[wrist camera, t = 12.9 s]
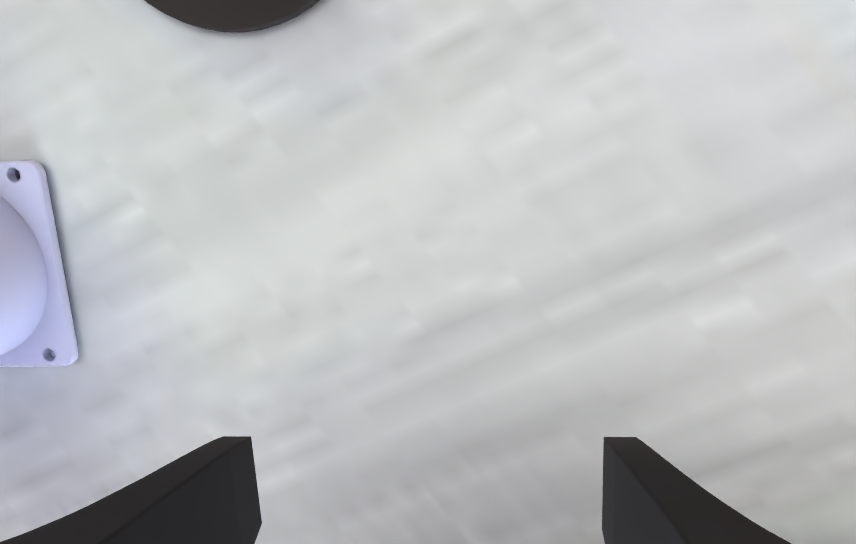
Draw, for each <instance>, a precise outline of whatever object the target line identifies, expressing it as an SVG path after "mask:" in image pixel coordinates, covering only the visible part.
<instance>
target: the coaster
mask: <svg viewBox="0 0 856 544" xmlns="http://www.w3.org/2000/svg"><path fill="white" fill-rule="evenodd" d="M145 1H146V2H147V3H149V4H150V5H152V6H154V7H155V8H157V9H158V10H160V11H162V12H163V13H165V14H167V15H169V16H171V17H173V18H176V19H178V20H180V21H182V22H185V23H187V24H191V25H194V26H197V27H201V28H204V29H208V30H215V31H221V32H248V31H255V30H262V29H265V28H269V27H272V26H276V25H279V24H281V23H283V22H286V21H288V20H290V19H292V18H295V17H296V16H298V15H300V14H301V13H303V12H304V11H306V10H308V9H309V8H311V7H312V6H313V5H315V4H316V3H317V2H318V1H319V0H145Z"/></svg>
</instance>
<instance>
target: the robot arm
mask: <svg viewBox="0 0 856 544" xmlns="http://www.w3.org/2000/svg"><path fill="white" fill-rule="evenodd" d="M16 169H17V170H18V171H19V173H20V179H19V180H18V179H17V178H16V176H15V170H16ZM50 349H51V350H52V351H53V352H54V354H55V357H53V356H52V355H51V354H50V352H49V350H50ZM77 358H78V347H77V341H76V336H75V330H74V325H73V319H72V314H71V308H70V303H69V297H68V292H67V286H66V281H65V276H64V270H63V265H62V259H61V254H60V248H59V243H58V237H57V232H56V226H55V221H54V216H53V210H52V205H51V199H50V194H49V188H48V183H47V177H46V173H45V170H44V168H43V166H42V165H41V164H40V163H38V162H37V161H33V160H21V161H0V367H36V366H68V365H70V364H71V363H73V362H75V361H76V360H77ZM261 524H262V521H261V513H260V505H259V497H258V489H257V481H256V473H255V465H254V457H253V449H252V441H251V437H221V438H218V439H216V440H213V441H211V442H209V443H207V444H205V445H203V446H201V447H199V448H197V449H195V450H193V451H191V452H190V453H188V454H186V455H184V456H182V457H180V458H178V459H177V460H175V461H173V462H171V463H169V464H167V465H166V466H164V467H162V468H160V469H158V470H157V471H155V472H153V473H151V474H149V475H147V476H146V477H144V478H142V479H140V480H138V481H136V482H134V483H132V484H130V485H128V486H126V487H124V488H122V489H120V490H119V491H117V492H115V493H113V494H111V495H109V496H107V497H105V498H103V499H101V500H99V501H97V502H95V503H93V504H91V505H89V506H87V507H85V508H82V509H80V510H78V511H76V512H74V513H72V514H69V515H67V516H65V517H63V518H60V519H58V520H56V521H53V522H51V523H48V524H46V525H44V526H41V527H39V528H36V529H34V530H32V531H29V532H27V533H24V534H21V535H19V536H16V537H13V538H11V539H8V540H5V541H2V542H0V544H254V543H255V540H256V538H257V535H258V532H259V530H260V527H261ZM602 531H603V536H604V541H605V544H791V543H789V542H787V541H786V540H784V539H782V538H780V537H778V536H777V535H775V534H773V533H771V532H769V531H768V530H766V529H764V528H762V527H761V526H759V525H757V524H756V523H754V522H752V521H751V520H749V519H748V518H746V517H745V516H743V515H742V514H740V513H739V512H737V511H736V510H734V509H732V508H731V507H729V506H728V505H726V504H725V503H723V502H722V501H720V500H719V499H717V498H716V497H715V496H713V495H712V494H710V493H709V492H708V491H706V490H705V489H703V488H702V487H701V486H699V485H698V484H697V483H695V482H694V481H692V480H691V479H690V478H688V477H687V476H686V475H685V474H683V473H682V472H681V471H679V470H678V469H677V468H675V467H674V466H673V465H672V464H670V463H669V462H668V461H666V460H665V459H664V458H663V457H661V456H660V455H659V454H658V453H656V452H655V451H654V450H653V449H651V448H650V447H649V446H647V445H646V444H645V443H643V442H642V441H641V440H639V439H638V438H636V437H604V456H603V507H602Z"/></svg>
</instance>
